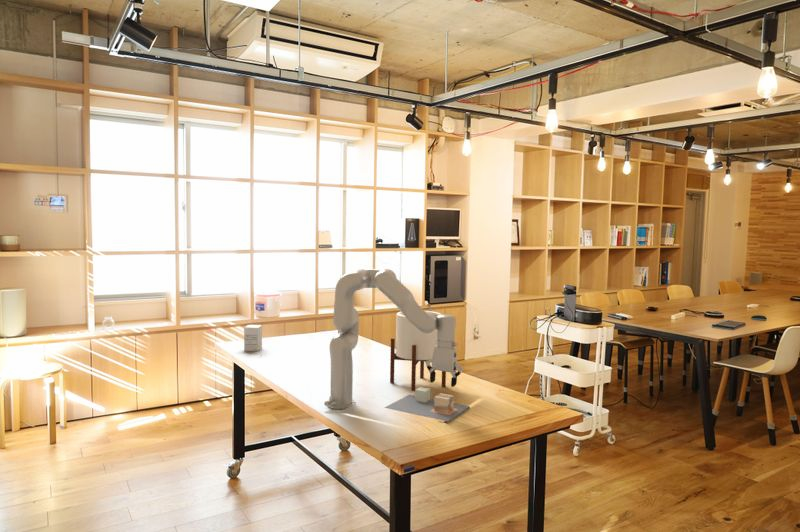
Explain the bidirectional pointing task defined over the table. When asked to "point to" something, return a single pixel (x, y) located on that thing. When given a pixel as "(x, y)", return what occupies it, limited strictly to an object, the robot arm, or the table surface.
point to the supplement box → (252, 338)
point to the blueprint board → (426, 408)
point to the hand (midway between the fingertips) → (442, 383)
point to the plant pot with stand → (412, 347)
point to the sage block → (422, 394)
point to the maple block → (443, 403)
